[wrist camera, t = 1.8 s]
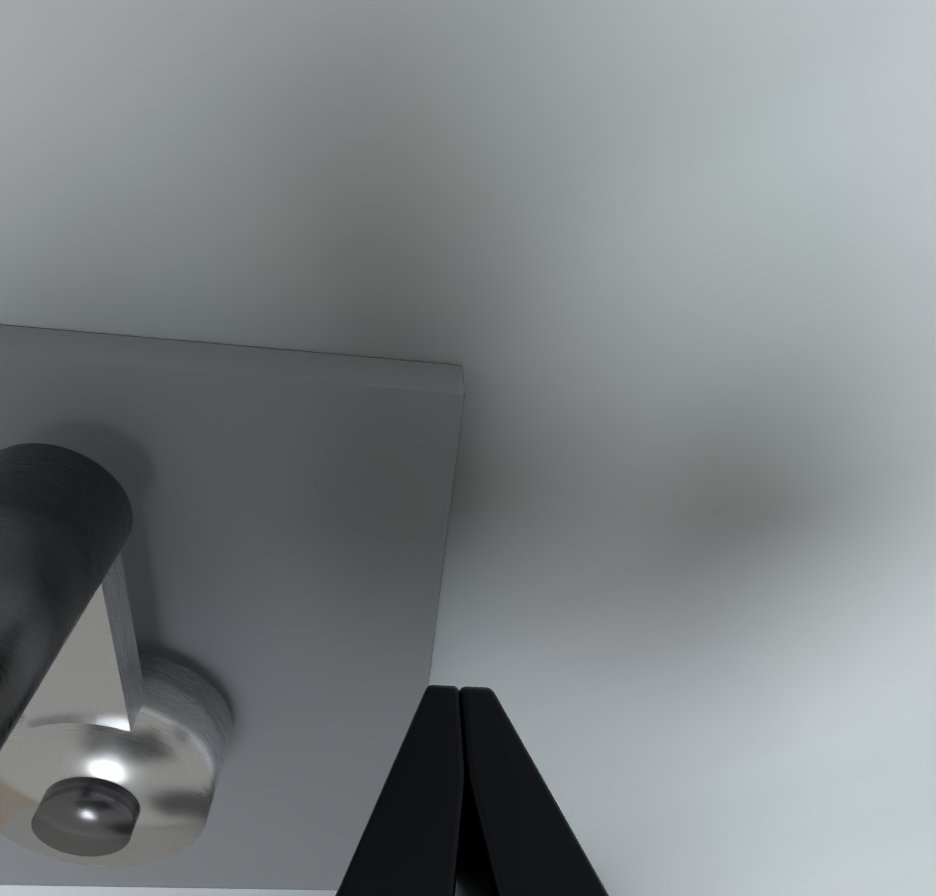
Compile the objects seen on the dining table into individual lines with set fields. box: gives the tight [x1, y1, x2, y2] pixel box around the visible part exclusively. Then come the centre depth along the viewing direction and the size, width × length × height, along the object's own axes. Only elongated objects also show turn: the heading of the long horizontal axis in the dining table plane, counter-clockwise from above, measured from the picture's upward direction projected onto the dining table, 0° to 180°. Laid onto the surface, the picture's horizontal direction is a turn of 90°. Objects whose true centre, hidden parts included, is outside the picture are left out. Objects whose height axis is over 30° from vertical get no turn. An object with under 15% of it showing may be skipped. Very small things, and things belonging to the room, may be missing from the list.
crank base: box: [0, 325, 464, 890], centre depth 15 cm, size 16×13×4 cm
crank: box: [0, 443, 232, 867], centre depth 12 cm, size 10×4×6 cm, turn 174°
